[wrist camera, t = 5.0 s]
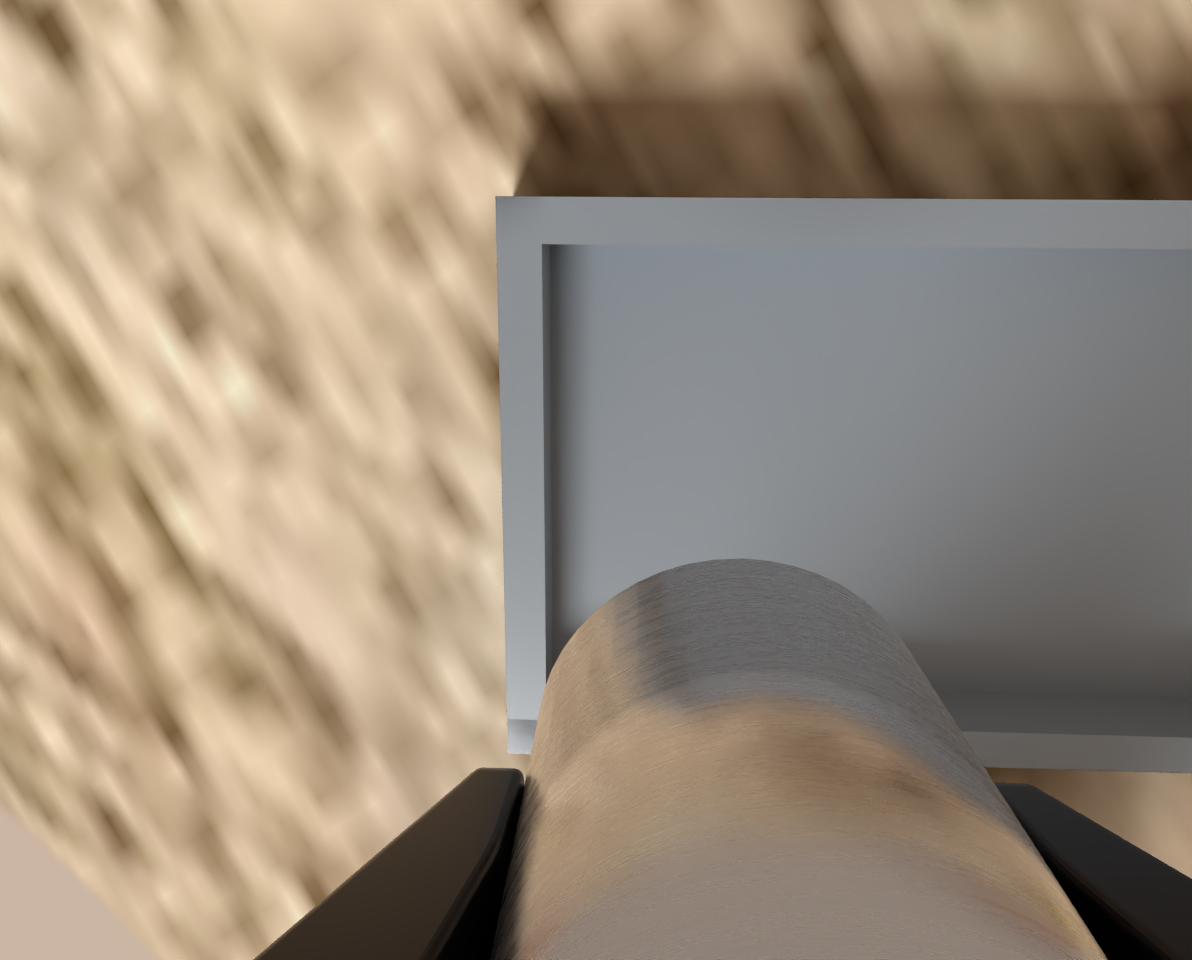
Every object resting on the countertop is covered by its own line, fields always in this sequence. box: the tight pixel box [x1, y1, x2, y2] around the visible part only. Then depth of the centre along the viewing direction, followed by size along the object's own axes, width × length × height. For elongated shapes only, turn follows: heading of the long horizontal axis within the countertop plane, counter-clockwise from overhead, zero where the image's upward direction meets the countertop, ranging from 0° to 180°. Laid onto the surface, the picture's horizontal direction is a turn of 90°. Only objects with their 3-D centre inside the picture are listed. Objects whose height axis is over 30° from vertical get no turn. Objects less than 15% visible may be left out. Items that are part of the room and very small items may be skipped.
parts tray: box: [496, 196, 1192, 773], centre depth 18 cm, size 11×18×2 cm, turn 90°
